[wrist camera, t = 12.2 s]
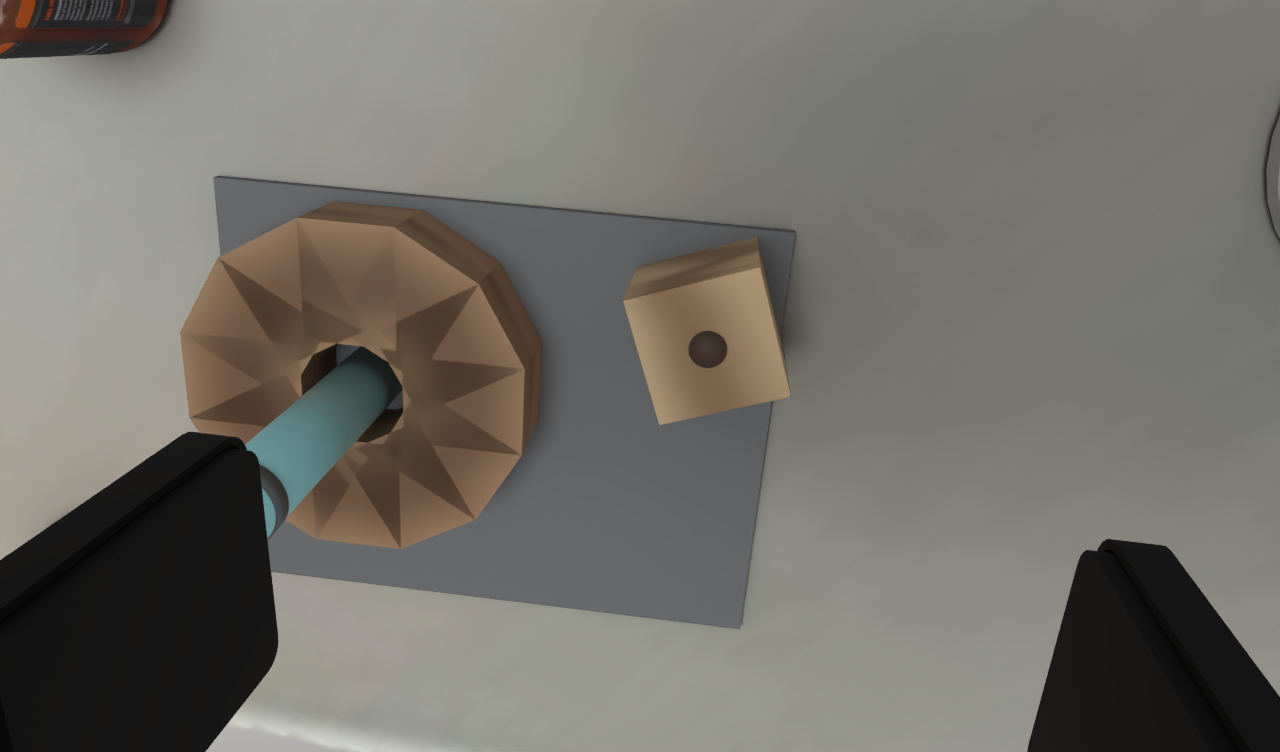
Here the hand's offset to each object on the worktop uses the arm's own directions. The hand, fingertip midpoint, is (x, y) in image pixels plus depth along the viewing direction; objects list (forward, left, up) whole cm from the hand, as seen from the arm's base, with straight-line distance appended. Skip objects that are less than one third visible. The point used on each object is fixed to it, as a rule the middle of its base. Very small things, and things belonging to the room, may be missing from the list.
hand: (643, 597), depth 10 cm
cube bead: (-1, +5, -28) cm, 28 cm away
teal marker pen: (+13, +9, -28) cm, 32 cm away
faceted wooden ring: (+13, +9, -28) cm, 32 cm away
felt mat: (+8, +11, -28) cm, 31 cm away
